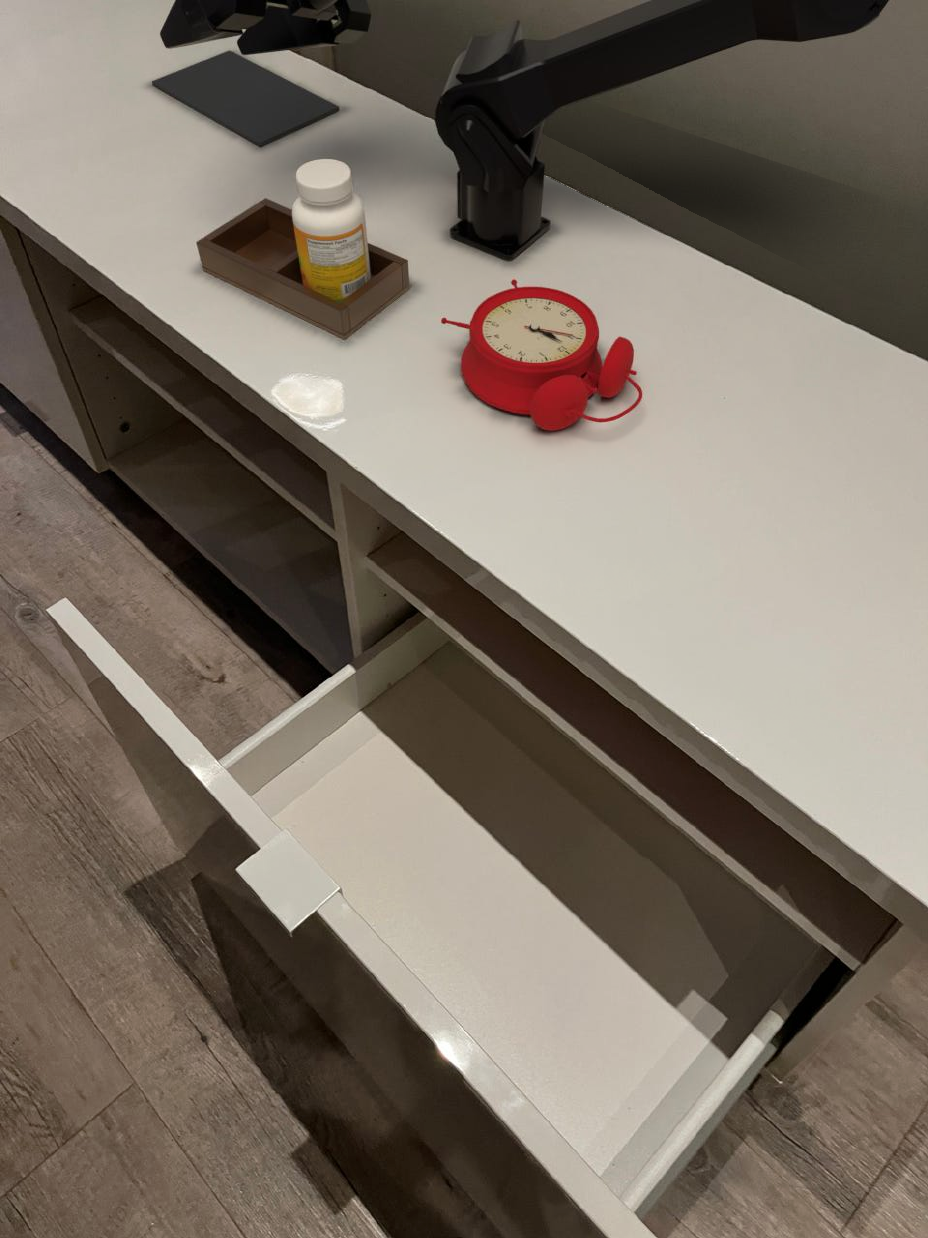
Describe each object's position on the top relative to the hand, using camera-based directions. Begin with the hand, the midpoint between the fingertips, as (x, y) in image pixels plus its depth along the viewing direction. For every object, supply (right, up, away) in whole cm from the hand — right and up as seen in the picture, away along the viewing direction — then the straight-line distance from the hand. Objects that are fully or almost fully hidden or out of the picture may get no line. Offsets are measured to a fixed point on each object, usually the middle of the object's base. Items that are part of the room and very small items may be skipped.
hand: (204, 44), depth 71 cm
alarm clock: (+26, -27, -3) cm, 38 cm away
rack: (+7, -17, +4) cm, 19 cm away
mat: (-2, +9, +22) cm, 24 cm away
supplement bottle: (+10, -18, +3) cm, 21 cm away
